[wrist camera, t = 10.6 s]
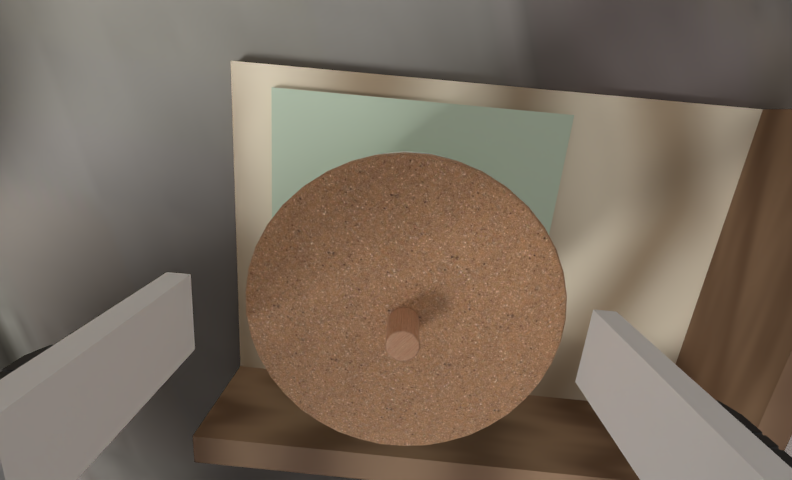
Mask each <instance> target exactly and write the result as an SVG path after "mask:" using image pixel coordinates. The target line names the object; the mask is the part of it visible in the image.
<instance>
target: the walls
mask: <svg viewBox="0 0 792 480" xmlns="http://www.w3.org/2000/svg"><path fill="white" fill-rule="evenodd" d="M676 365H677V366H678V367H679V368H680V369H681V370H682V371H683V372H685V373H686V374H687V375H688V376H689V377H690V378H691V379H692V380H694V381H695V382H696V383H697V384H698V385H699V386H700V387H701V388H702V389H704V390H705V391H706V392H707V393H708V394H709V395H710V396H711V397H713V398H714V399H715V400H719V401H720V402H722V403H723V404H725V405H727V406H728V407H730V408H732V409H733V410H735V411H737V412H738V413H740V414H742V415H743V416H744V417H745V418H747V419H748V420H749V421H750V422H751V423H752V424H753V425H755V426H756V427H757V428H758V429H759V430H760V431H762V434H763V435H766V436H767V437H769V438H770V439H771V440H772V441H773V442H774V443H775V444H777V445H778V446H779V449H780V450H785V448H786V446H787V444H788V442H789V440H790V437H791V435H792V109H763V111H762V114H761V116H760V119H759V122H758V125H757V128H756V131H755V134H754V137H753V140H752V143H751V146H750V149H749V151H748V154H747V157H746V160H745V163H744V166H743V169H742V172H741V175H740V178H739V181H738V184H737V187H736V189H735V192H734V195H733V198H732V201H731V204H730V207H729V210H728V213H727V216H726V219H725V222H724V224H723V227H722V230H721V233H720V236H719V239H718V242H717V245H716V248H715V251H714V254H713V257H712V259H711V262H710V265H709V268H708V271H707V274H706V277H705V280H704V283H703V286H702V289H701V292H700V294H699V297H698V300H697V303H696V306H695V309H694V312H693V315H692V318H691V321H690V324H689V327H688V330H687V332H686V335H685V338H684V341H683V344H682V347H681V350H680V353H679V356H678V359H677V362H676ZM193 448H194V460H195V462H198V463H208V464H218V465H228V466H237V467H247V468H257V469H267V470H277V471H286V472H296V473H306V474H316V475H325V476H335V477H345V478H355V479H365V480H640V479H639V478H638V476H637V475H636V473H635V472H634V470H633V469H632V467H631V466H630V464H629V463H628V461H627V459H626V458H625V456H624V455H623V453H622V452H621V450H620V449H619V447H618V446H617V444H616V443H615V441H614V440H613V438H612V437H611V435H610V434H609V432H608V431H607V429H606V428H605V426H604V425H603V423H602V422H601V420H600V419H599V417H598V416H597V414H596V413H595V411H594V410H593V408H592V407H591V405H590V404H589V402H588V401H584V400H574V399H564V398H554V397H544V396H534V395H528V396H527V397H526V399H525V400H524V401H522V402H521V403H520V404H519V405H518V406H517V407H516V408H514V409H513V410H512V411H511V412H510V413H509V414H508V415H506V416H504V417H503V418H501V419H499V420H498V421H496V422H494V423H493V424H491V425H489V426H488V427H485V428H483V429H481V430H479V431H477V432H475V433H473V434H470V435H468V436H465V437H461V438H458V439H454V440H451V441H447V442H441V443H436V444H430V445H417V446H399V445H387V444H379V443H374V442H370V441H366V440H362V439H358V438H355V437H352V436H349V435H346V434H343V433H341V432H338V431H336V430H334V429H332V428H330V427H328V426H327V425H325V424H323V423H321V422H319V421H318V420H316V419H315V418H313V417H312V416H310V415H309V414H307V413H306V412H304V411H303V410H301V409H300V408H299V407H298V406H297V405H296V404H295V403H294V402H293V401H292V400H291V399H290V398H289V397H288V396H286V395H285V394H284V392H283V391H282V390H281V389H280V388H279V386H278V385H277V384H276V383H275V382H274V380H273V379H272V378H271V377H270V375H269V373H268V371H267V369H263V368H253V367H243V366H240V368H239V369H238V370H237V372H236V373H235V375H234V376H233V378H232V379H231V381H230V382H229V384H228V385H227V387H226V388H225V390H224V391H223V392H222V394H221V395H220V397H219V398H218V400H217V401H216V403H215V404H214V406H213V407H212V409H211V410H210V412H209V413H208V415H207V416H206V417H205V419H204V420H203V422H202V423H201V425H200V426H199V428H198V429H197V431H196V432H195V434H194V435H193Z"/></svg>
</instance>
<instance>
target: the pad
mask: <svg viewBox="0 0 792 480" xmlns="http://www.w3.org/2000/svg"><path fill="white" fill-rule="evenodd" d="M573 119H574V115H568V114H557V113H546V112H535V111H524V110H513V109H502V108H492V107H481V106H470V105H459V104H448V103H437V102H426V101H416V100H405V99H394V98H383V97H372V96H361V95H350V94H339V93H329V92H318V91H307V90H296V89H285V88H274V87H272V218H273V217H274V215H275V214H276V213H277V211H278V210H279V209H280V208H281V206H282V205H283V204H284V203H285V202H286V201H288V200H289V199H290V198H291V197H292V196H293V195H294V194H295V193H296V192H298V191H299V190H300V189H301V188H302V187H303V186H305V185H306V184H308V183H309V182H311V181H313V180H314V179H316V178H317V177H319V176H320V175H322V174H324V173H325V172H327V171H329V170H331V169H333V168H336V167H338V166H341V165H343V164H345V163H348V162H350V161H353V160H357V159H361V158H364V157H368V156H373V155H377V154H381V153H388V152H401V151H411V152H423V153H431V154H435V155H439V156H443V157H447V158H451V159H453V160H456V161H459V162H462V163H464V164H466V165H469V166H471V167H473V168H476V169H478V170H480V171H483V172H484V173H486V174H487V175H489V176H491V177H492V178H494V179H495V180H497V181H498V182H500V183H501V184H503V185H505V186H506V187H507V188H509V189H510V190H511V191H512V192H513V193H514V194H515V195H516V196H517V197H518V198H520V199H521V200H522V201H523V202H524V203H525V204H526V205H527V206H528V207H529V208H530V209H531V210H532V212H533V213H534V214H535V216H536V217H537V218H538V219H539V221H540V222H541V223H542V225H543V226H544V227H545V229H546V231H547V233H548V235H549V233H550V228H551V223H552V219H553V214H554V209H555V204H556V200H557V195H558V190H559V185H560V180H561V176H562V171H563V166H564V161H565V157H566V152H567V147H568V142H569V138H570V133H571V128H572V123H573Z"/></svg>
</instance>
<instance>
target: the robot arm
mask: <svg viewBox="0 0 792 480" xmlns="http://www.w3.org/2000/svg"><path fill="white" fill-rule="evenodd" d="M194 350H195V340H194V323H193V306H192V288H191V274H183V273H171V272H166V273H165V274H163V275H162V276H160V277H159V278H157V279H155V280H154V281H152V282H151V283H149V284H148V285H146V286H145V287H143V288H141V289H140V290H138V291H137V292H135V293H134V294H132V295H131V296H129V297H128V298H126V299H124V300H123V301H121V302H120V303H118V304H117V305H115V306H114V307H112V308H110V309H109V310H107V311H106V312H104V313H103V314H101V315H100V316H98V317H96V318H95V319H93V320H92V321H90V322H89V323H87V324H86V325H84V326H83V327H81V328H79V329H78V330H76V331H75V332H73V333H72V334H70V335H69V336H67V337H65V338H64V339H62V340H61V341H59V342H58V343H56V344H55V345H49V346H47V347H44V348H42V349H39V350H37V351H34V352H32V353H29V354H27V355H24V356H23V357H21V358H20V359H18V360H16V361H15V362H13V363H12V364H10V365H8V366H7V367H5V368H4V369H2V372H0V480H77V479H78V478H79V477H80V476H81V475H82V474H83V472H84V471H85V470H86V469H87V468H88V467H89V466H90V465H91V464H92V462H93V461H94V460H95V459H96V458H97V457H98V456H99V455H100V454H101V453H102V451H103V450H104V449H105V448H106V447H107V446H108V445H109V444H110V443H111V441H112V440H113V439H114V438H115V437H116V436H117V435H118V434H119V433H120V432H121V430H122V429H123V428H124V427H125V426H126V425H127V424H128V423H129V422H130V421H131V419H132V418H133V417H134V416H135V415H136V414H137V413H138V412H139V411H140V409H141V408H142V407H143V406H144V405H145V404H146V403H147V402H148V401H149V400H150V398H151V397H152V396H153V395H154V394H155V393H156V392H157V391H158V390H159V388H160V387H161V386H162V385H163V384H164V383H165V382H166V381H167V380H168V379H169V377H170V376H171V375H172V374H173V373H174V372H175V371H176V370H177V369H178V368H179V366H180V365H181V364H182V363H183V362H184V361H185V360H186V359H187V358H188V356H189V355H190V354H191V353H192V352H193V351H194ZM575 382H576V384H577V385H578V387H579V388H580V390H581V391H582V393H583V394H584V396H585V397H586V399H587V400H588V402H589V404H590V405H591V407H592V408H593V410H594V411H595V413H596V414H597V416H598V417H599V419H600V420H601V422H602V423H603V425H604V426H605V428H606V429H607V431H608V432H609V434H610V435H611V437H612V438H613V440H614V441H615V443H616V444H617V446H618V447H619V449H620V450H621V452H622V453H623V455H624V456H625V458H626V459H627V461H628V463H629V464H630V466H631V467H632V469H633V470H634V472H635V473H636V475H637V476H638V478H639V479H640V480H792V457H790V456H789V455H788V454H787V453H786V452H785V451H784V450H780V449H779V446H778V445H777V444H775V443H774V442H773V441H772V440H771V439H770V438H769V437H767V436H766V435H763V434H762V431H760V430H759V429H758V428H757V427H756V426H755V425H753V424H752V423H751V422H750V421H749V420H748V419H747V418H745V417H744V416H743V415H742V414H740V413H738V412H737V411H735V410H733V409H732V408H730V407H728V406H727V405H725V404H723V403H722V402H720V401H719V400H715V399H714V398H713V397H711V396H710V395H709V394H708V393H707V392H706V391H705V390H704V389H702V388H701V387H700V386H699V385H698V384H697V383H696V382H695V381H694V380H692V379H691V378H690V377H689V376H688V375H687V374H686V373H685V372H683V371H682V370H681V369H680V368H679V367H678V366H677V365H676V364H675V363H673V362H672V361H671V360H670V359H669V358H668V357H667V356H666V355H664V354H663V353H662V352H661V351H660V350H659V349H658V348H657V347H655V346H654V345H653V344H652V343H651V342H650V341H649V340H648V339H647V338H645V337H644V336H643V335H642V334H641V333H640V332H639V331H638V330H636V329H635V328H634V327H633V326H632V325H631V324H630V323H629V322H627V321H626V320H625V319H624V318H623V317H622V316H621V315H620V314H619V313H617V312H615V311H604V310H593V312H592V316H591V320H590V324H589V328H588V332H587V336H586V340H585V344H584V348H583V352H582V356H581V360H580V364H579V369H578V373H577V377H576V381H575Z"/></svg>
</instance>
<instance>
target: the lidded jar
mask: <svg viewBox="0 0 792 480" xmlns="http://www.w3.org/2000/svg"><path fill="white" fill-rule="evenodd" d="M245 293H246V315H247V320H248V324H249V329H250V334H251V337H252V340H253V343H254V345H255V348H256V350H257V353H258V355H259V357H260V359H261V361H262V363H263V364H264V366H265V368H266V369H267V371H268V373H269V375H270V377H271V378H272V379H273V380H274V382H275V383H276V384H277V385H278V386H279V388H280V389H281V390H282V391H283V392H284V394H285V395H286V396H288V397H289V398H290V399H291V400H292V401H293V402H294V403H295V404H296V405H297V406H298V407H299V408H300V409H301V410H303V411H304V412H306V413H307V414H309V415H310V416H312V417H313V418H315V419H316V420H318V421H319V422H321V423H323V424H325V425H327V426H328V427H330V428H332V429H334V430H336V431H338V432H341V433H343V434H346V435H349V436H352V437H355V438H358V439H362V440H366V441H370V442H374V443H379V444H387V445H399V446H417V445H430V444H436V443H441V442H447V441H451V440H454V439H458V438H461V437H465V436H468V435H470V434H473V433H475V432H477V431H479V430H481V429H483V428H485V427H488V426H489V425H491V424H493V423H494V422H496V421H498V420H499V419H501V418H503V417H504V416H506V415H508V414H509V413H510V412H511V411H512V410H513V409H514V408H516V407H517V406H518V405H519V404H520V403H521V402H522V401H524V400H525V399H526V397H527V396H528V395H529V394H530V393H531V392H532V391H533V390H534V388H535V387H536V386H537V385H538V384H539V383H540V381H541V380H542V378H543V376H544V375H545V373H546V371H547V370H548V368H549V367H550V365H551V363H552V361H553V359H554V357H555V354H556V352H557V349H558V347H559V345H560V342H561V338H562V334H563V329H564V325H565V321H566V304H567V293H566V286H565V278H564V272H563V269H562V265H561V262H560V259H559V256H558V253H557V250H556V248H555V246H554V244H553V242H552V240H551V238H550V236H549V235H548V233H547V231H546V229H545V227H544V226H543V225H542V223H541V222H540V221H539V219H538V218H537V217H536V216H535V214H534V213H533V212H532V210H531V209H530V208H529V207H528V206H527V205H526V204H525V203H524V202H523V201H522V200H521V199H520V198H518V197H517V196H516V195H515V194H514V193H513V192H512V191H511V190H510V189H509V188H507V187H506V186H505V185H503V184H501V183H500V182H498V181H497V180H495V179H494V178H492V177H491V176H489V175H487V174H486V173H484V172H483V171H480V170H478V169H476V168H473V167H471V166H469V165H466V164H464V163H462V162H459V161H456V160H453V159H451V158H447V157H443V156H439V155H435V154H431V153H423V152H411V151H401V152H388V153H381V154H377V155H373V156H368V157H364V158H361V159H357V160H353V161H350V162H348V163H345V164H343V165H341V166H338V167H336V168H333V169H331V170H329V171H327V172H325V173H324V174H322V175H320V176H319V177H317V178H316V179H314V180H313V181H311V182H309V183H308V184H306V185H305V186H303V187H302V188H301V189H300V190H299V191H298V192H296V193H295V194H294V195H293V196H292V197H291V198H290V199H289V200H288V201H286V202H285V203H284V204H283V205H282V206H281V208H280V209H279V210H278V211H277V213H276V214H275V215H274V217H273V218H272V219H271V220H270V222H269V223H268V224H267V226H266V228H265V230H264V232H263V233H262V235H261V237H260V239H259V241H258V243H257V245H256V247H255V250H254V253H253V256H252V259H251V263H250V266H249V269H248V276H247V284H246V291H245Z"/></svg>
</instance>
